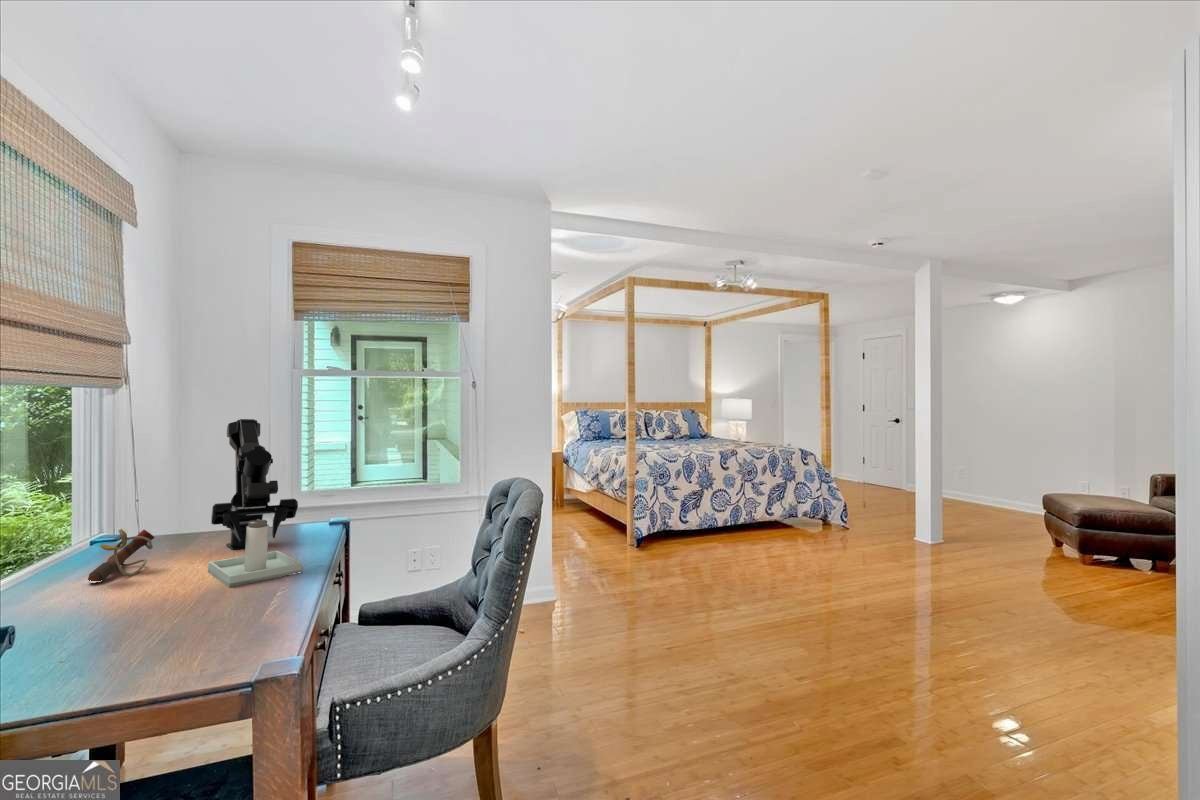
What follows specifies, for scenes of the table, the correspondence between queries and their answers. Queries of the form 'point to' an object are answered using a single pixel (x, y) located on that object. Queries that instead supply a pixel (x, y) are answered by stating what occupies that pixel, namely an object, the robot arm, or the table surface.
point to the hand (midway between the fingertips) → (257, 538)
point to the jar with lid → (256, 545)
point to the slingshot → (122, 555)
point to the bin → (235, 575)
